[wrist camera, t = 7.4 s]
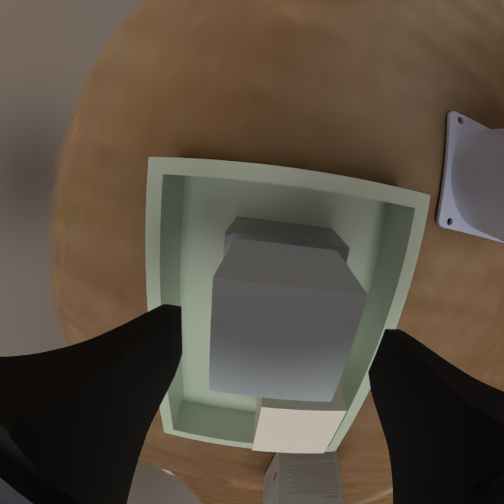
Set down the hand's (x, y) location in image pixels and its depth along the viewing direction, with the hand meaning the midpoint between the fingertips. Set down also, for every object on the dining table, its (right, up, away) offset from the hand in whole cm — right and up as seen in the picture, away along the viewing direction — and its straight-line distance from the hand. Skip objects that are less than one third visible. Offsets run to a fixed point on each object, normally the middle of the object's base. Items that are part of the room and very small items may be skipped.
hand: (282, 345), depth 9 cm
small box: (+4, -20, +15) cm, 25 cm away
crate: (0, -1, +9) cm, 9 cm away
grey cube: (0, +1, +4) cm, 4 cm away
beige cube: (+2, -7, +10) cm, 12 cm away
